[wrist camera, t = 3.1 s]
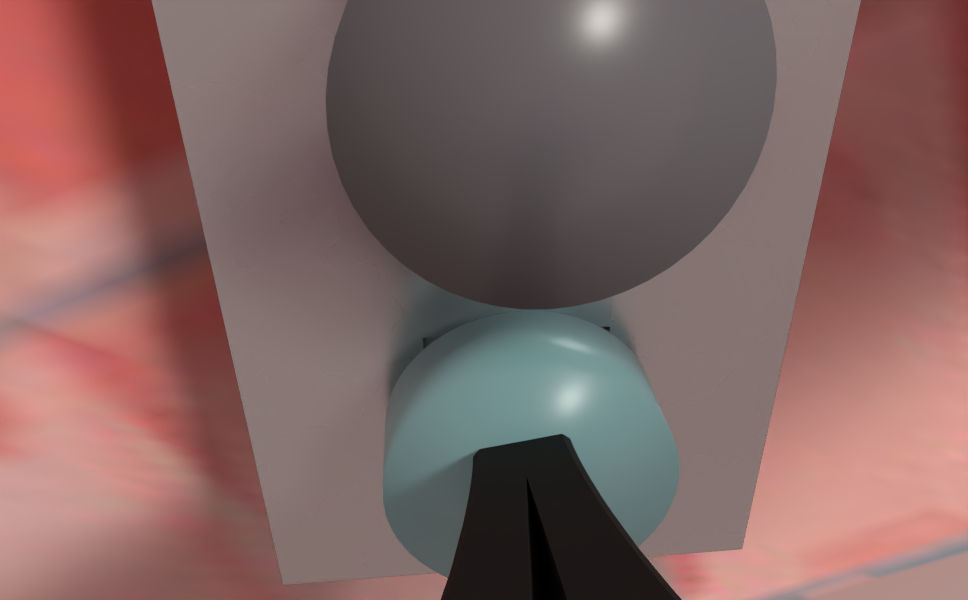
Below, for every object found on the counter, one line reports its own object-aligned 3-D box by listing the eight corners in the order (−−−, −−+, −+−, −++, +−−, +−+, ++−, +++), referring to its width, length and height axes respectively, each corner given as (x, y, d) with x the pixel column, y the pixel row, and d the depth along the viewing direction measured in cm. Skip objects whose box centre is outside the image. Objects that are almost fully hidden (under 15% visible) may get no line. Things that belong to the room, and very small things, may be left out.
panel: (935, -1071, 8) (1184, -1492, 5) (695, 447, 18) (742, 549, 16) (3, -1115, 7) (-208, -1598, 5) (300, 474, 18) (282, 584, 15)
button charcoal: (688, -159, 10) (818, -145, 7) (654, 172, 12) (740, 297, 9) (332, -149, 10) (294, -131, 7) (365, 187, 12) (350, 320, 9)
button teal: (631, 236, 14) (696, 360, 11) (614, 430, 16) (664, 579, 13) (378, 250, 14) (369, 381, 11) (396, 445, 16) (394, 600, 13)
